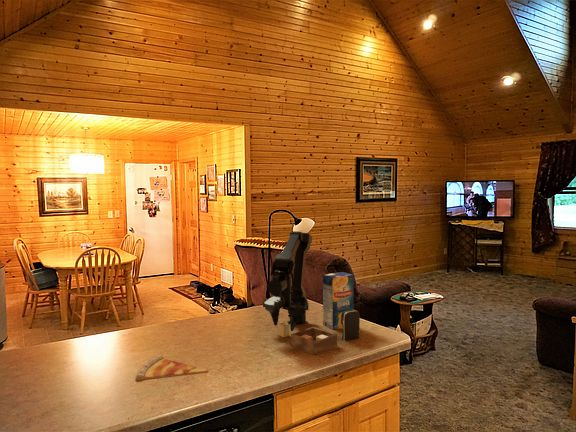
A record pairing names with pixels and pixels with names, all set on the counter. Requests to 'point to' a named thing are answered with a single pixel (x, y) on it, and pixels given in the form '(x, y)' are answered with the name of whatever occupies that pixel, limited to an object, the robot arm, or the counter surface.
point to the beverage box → (337, 298)
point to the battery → (350, 324)
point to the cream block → (320, 337)
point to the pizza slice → (165, 368)
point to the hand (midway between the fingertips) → (283, 328)
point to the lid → (283, 329)
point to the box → (314, 341)
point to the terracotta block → (307, 337)
